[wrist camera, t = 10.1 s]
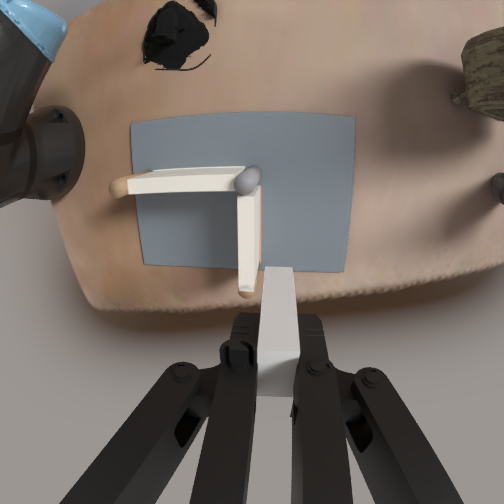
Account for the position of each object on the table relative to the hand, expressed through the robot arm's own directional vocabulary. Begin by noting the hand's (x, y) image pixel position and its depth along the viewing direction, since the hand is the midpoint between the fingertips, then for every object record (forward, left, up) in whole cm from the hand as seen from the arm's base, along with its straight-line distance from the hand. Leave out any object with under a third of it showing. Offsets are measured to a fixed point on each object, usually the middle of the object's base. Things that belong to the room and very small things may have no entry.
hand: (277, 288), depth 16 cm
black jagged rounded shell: (-13, +24, -21) cm, 34 cm away
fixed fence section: (-10, +4, -20) cm, 23 cm away
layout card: (-5, +2, -20) cm, 20 cm away
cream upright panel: (-3, -3, -19) cm, 19 cm away
